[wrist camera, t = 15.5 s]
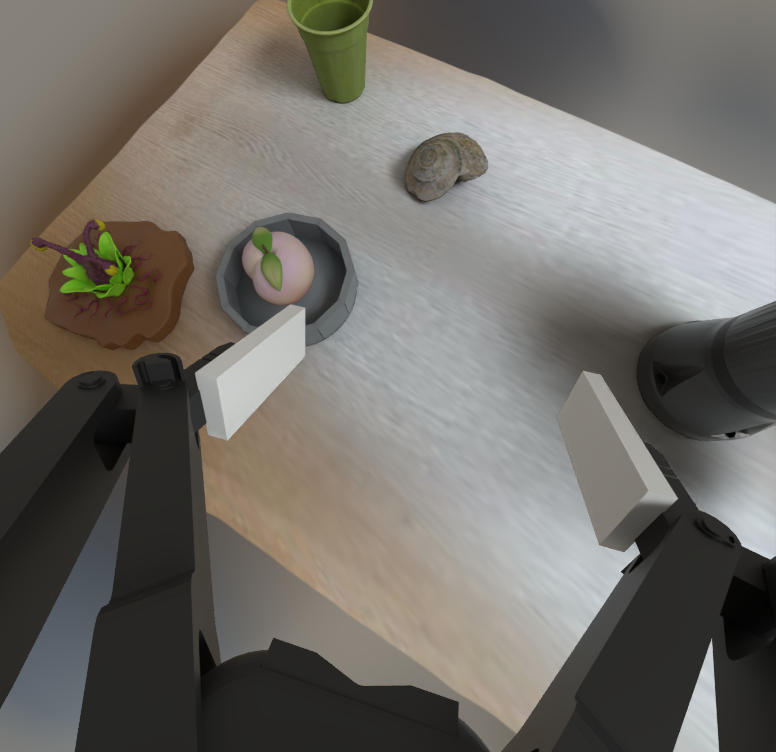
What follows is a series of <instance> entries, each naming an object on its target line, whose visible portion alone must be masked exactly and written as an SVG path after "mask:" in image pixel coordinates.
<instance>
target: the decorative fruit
mask: <svg viewBox="0 0 776 752" xmlns="http://www.w3.org/2000/svg"><path fill="white" fill-rule="evenodd" d="M242 263H243V267H244V270H245V272H246V273H247V274H248V276H249V277H250V278H251V279H252V280H253V284H254V287H255V290H256V292H257V293H258V294H259V295H260V296H261V297H262V298H263V299H264V300H266V301H268V302H270V303H272V304H276V305H290V304H293V303H295V302H297V301H299V300H300V299H301V298H302V297H303V296H304V295H305V294H306V293H307V291H308V290H309V288H310V286H311V284H312V281H313V277H314V263H313V259H312V257H311V255H310V253H309V251H308V250H307V248H306V247H305V246H304V245H303V243H302V242H301V241H299V240H298V239H297V238H296V237H294V236H292V235H290V234H288V233H285V232H270V231H269V230H268V229H266V228H264V227H257V228H256V229H255V230H254V232H253V235H252V239H251V240H250V241H249V242H248V243H247V245H246V246H245V248H244V250H243V255H242Z"/></svg>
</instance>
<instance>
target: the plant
mask: <svg viewBox="0 0 776 752" xmlns="http://www.w3.org/2000/svg"><path fill="white" fill-rule="evenodd" d="M31 245H32V247H33V248H35V249H36V250H39V251H44V250H46V249H47V247H49V248H51V249H54V250H57V251H59V252H60V253H61V254H63V255H62V256H61V258H60V259H59V262H58V264H57V266H56V267H55V269H54V271H53V273H52V275H51V277H50V279H49V286H50V296H49V299H48V303H47V309H46V313H45V318H46V319H48V320H49V321H51V322H52V323H53V324H54V325H56V326H59V327H61V328H64V329H67V330H69V331H71V332H73V333H76V334H78V335H81V336H84V337H87V338H90V339H96V340H98V341H99V343H100V344H101V346H103V347H105V348H108V349H111V350H114V349H116V348H118V347H124V348H127V349H130V350H134V349H136V348H137V347H138V346H139V345H140V344H141V343H142V342H144V341H145V340H146V339H149V340H152V341H154V342H159V341H161V340H162V339H164V338H165V337H166V336H167V335H168V334H169V333H170V332H171V331H172V330H173V329H174V327H175V326H176V324H177V322H178V319H179V315H180V308H181V300H182V296H183V293H184V290H185V287H186V284H187V282H188V279H189V277H190V275H191V274H192V273H193V271H194V266H193V259H192V253H191V251H190V250H189V249H188V247H187V244H186V240H185V239H184V238H183V237H182V236H181V235H180V234H179V233H178V232H177V231H171V232H166V231H163V230H161V229H160V228H159V227H158V226H156V225H155V224H154V223H153V222H148V221H143V222H102V221H100V220H95V219H94V220H91V221H90V222H88V223H87V225H86V226H85V229H84V232H83V234H81V235H80V236H79V237H78V238H76V239H75V240H74V241H73V242H72V243H71V244H70V245H69V246H68V248H65V247H61V246H60V245H56V244H53V243H51V242H47V241H46V240H43V239H41V238H33V239H32V240H31Z"/></svg>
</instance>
